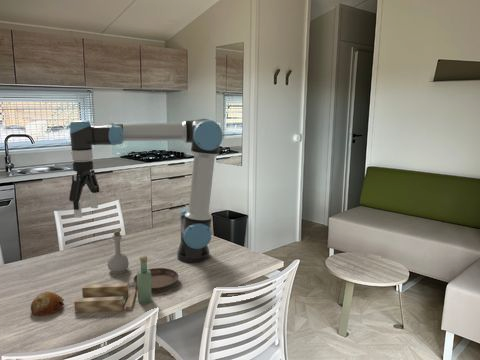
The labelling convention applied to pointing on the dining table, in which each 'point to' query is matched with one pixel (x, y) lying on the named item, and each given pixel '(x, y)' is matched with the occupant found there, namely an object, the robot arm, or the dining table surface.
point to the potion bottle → (117, 257)
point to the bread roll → (46, 304)
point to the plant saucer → (161, 278)
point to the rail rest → (104, 298)
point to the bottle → (144, 282)
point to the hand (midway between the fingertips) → (86, 212)
